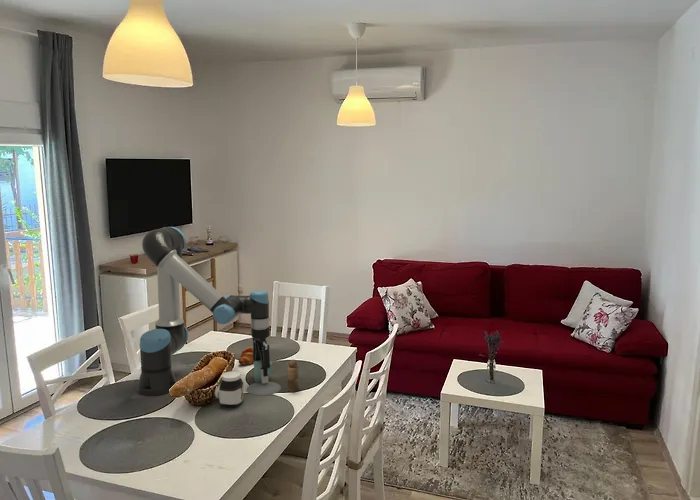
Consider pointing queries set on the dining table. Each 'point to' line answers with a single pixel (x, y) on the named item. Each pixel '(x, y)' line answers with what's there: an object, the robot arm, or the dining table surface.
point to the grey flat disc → (263, 388)
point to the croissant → (246, 356)
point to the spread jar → (230, 389)
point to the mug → (258, 371)
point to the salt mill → (293, 376)
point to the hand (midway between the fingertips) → (261, 380)
